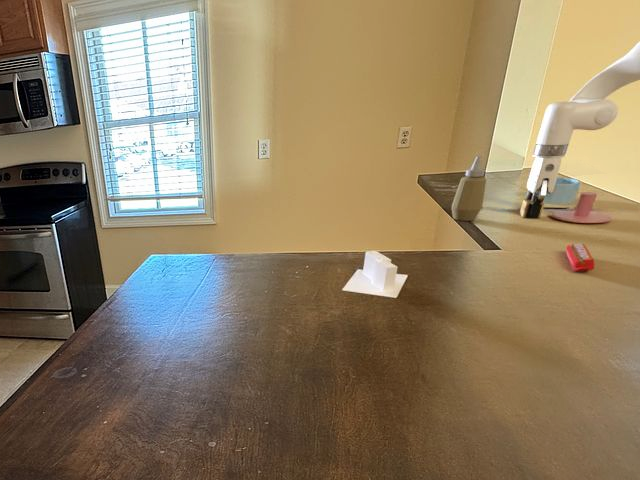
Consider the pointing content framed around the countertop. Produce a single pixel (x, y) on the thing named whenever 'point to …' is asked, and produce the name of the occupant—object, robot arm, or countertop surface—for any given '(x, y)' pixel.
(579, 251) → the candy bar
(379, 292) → the white building model
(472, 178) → the squeeze bottle
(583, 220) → the pink peg stand
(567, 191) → the bowl
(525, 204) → the block
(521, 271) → the countertop surface
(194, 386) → the countertop surface
